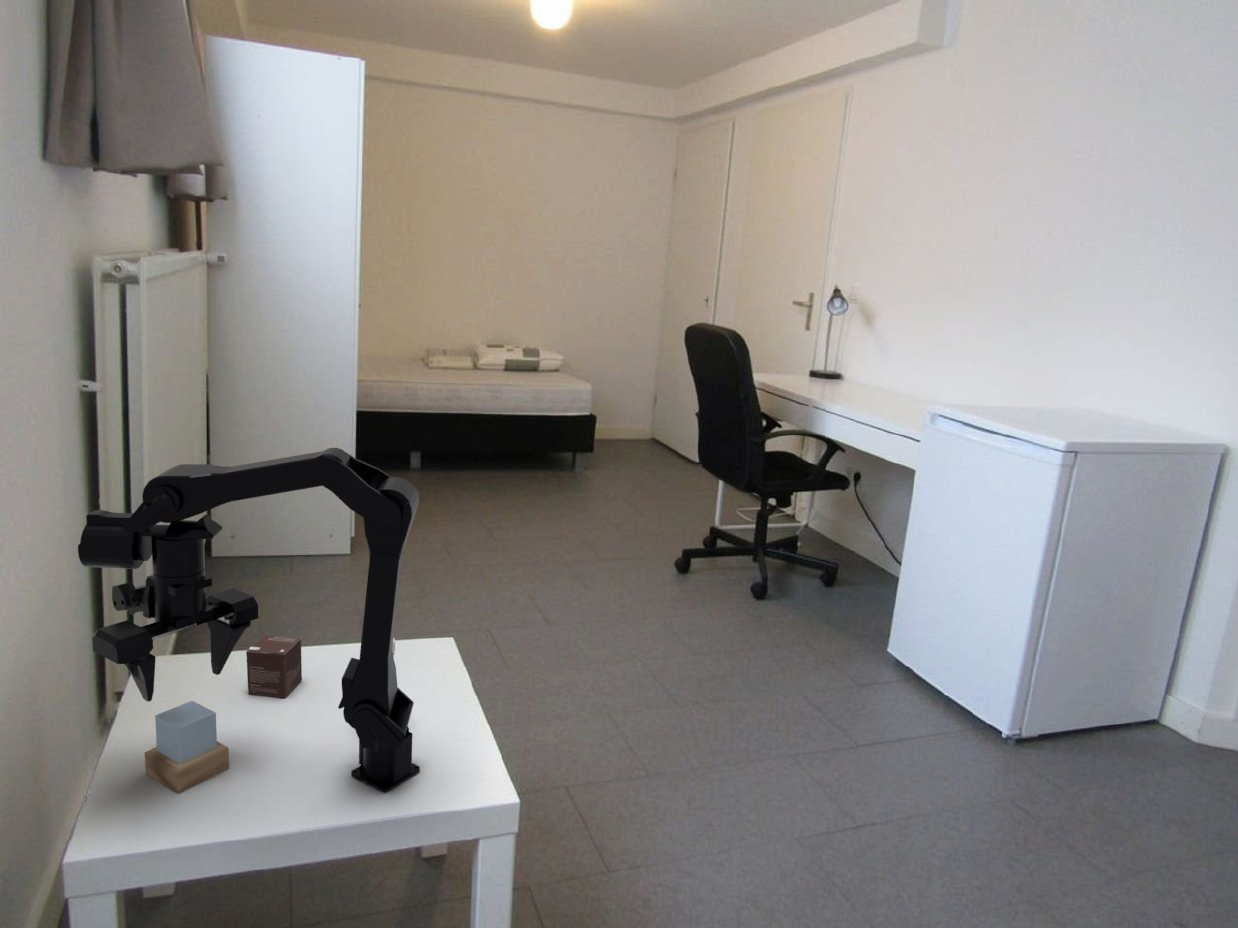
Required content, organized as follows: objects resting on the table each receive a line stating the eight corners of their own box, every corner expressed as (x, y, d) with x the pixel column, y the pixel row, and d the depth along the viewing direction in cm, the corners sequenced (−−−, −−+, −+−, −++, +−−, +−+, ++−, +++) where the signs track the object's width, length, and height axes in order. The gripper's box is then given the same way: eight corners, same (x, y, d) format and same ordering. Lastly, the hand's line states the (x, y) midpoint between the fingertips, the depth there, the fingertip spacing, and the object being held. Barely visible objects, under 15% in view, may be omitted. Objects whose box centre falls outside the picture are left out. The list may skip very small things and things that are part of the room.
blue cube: (216, 747, 114) (215, 712, 113) (180, 764, 110) (179, 728, 109) (193, 734, 117) (192, 700, 115) (156, 751, 112) (155, 715, 111)
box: (302, 681, 139) (302, 637, 137) (285, 699, 133) (284, 654, 132) (265, 676, 140) (265, 633, 138) (246, 694, 134) (245, 649, 132)
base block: (229, 768, 115) (228, 747, 114) (178, 793, 109) (177, 771, 108) (196, 749, 119) (195, 729, 118) (145, 773, 113) (144, 751, 112)
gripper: (208, 537, 119) (210, 644, 123) (63, 572, 104) (71, 693, 107) (261, 557, 114) (262, 668, 117) (117, 597, 98) (123, 724, 102)
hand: (183, 686), depth 111 cm, fingers open, 9 cm apart
